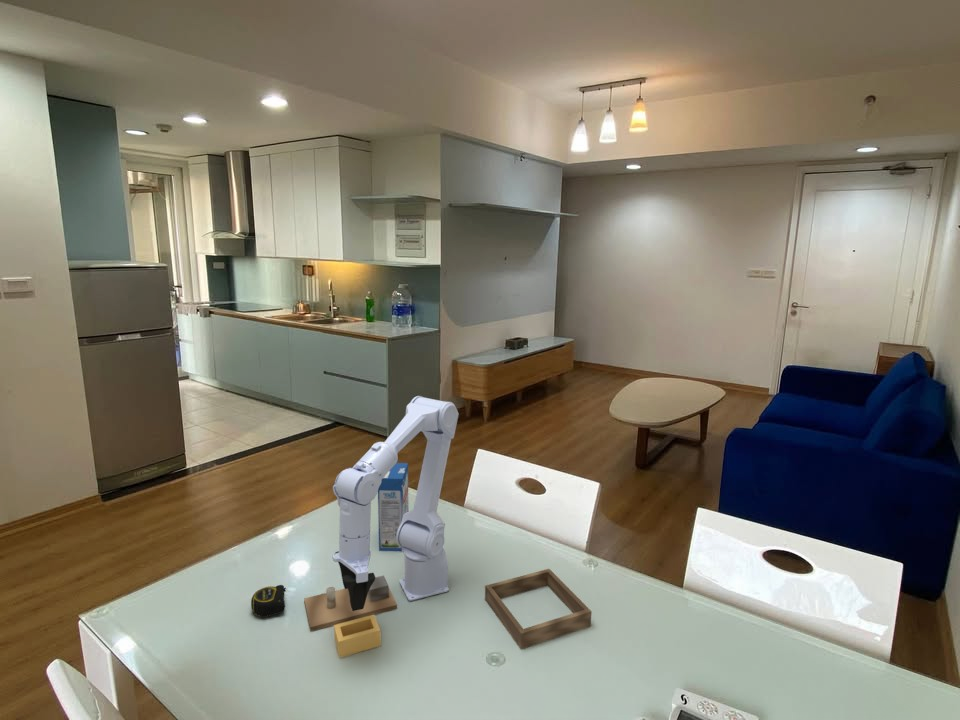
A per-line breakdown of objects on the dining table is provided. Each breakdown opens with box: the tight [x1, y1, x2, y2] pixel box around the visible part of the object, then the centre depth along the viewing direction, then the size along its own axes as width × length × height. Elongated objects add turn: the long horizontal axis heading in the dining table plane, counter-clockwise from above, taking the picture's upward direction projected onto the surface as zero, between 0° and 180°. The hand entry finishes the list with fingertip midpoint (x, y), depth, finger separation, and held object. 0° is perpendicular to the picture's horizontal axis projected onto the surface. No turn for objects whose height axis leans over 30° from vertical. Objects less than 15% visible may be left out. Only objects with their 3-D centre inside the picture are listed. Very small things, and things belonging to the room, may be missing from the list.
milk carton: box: [377, 462, 409, 552], centre depth 141 cm, size 10×6×20 cm, turn 179°
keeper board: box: [303, 575, 398, 632], centre depth 117 cm, size 18×10×5 cm, turn 115°
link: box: [333, 614, 382, 659], centre depth 106 cm, size 8×5×4 cm, turn 115°
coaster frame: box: [484, 568, 592, 650], centre depth 116 cm, size 16×16×4 cm
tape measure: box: [250, 584, 287, 617], centre depth 115 cm, size 7×7×4 cm
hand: (353, 597), depth 104 cm, fingers open, 7 cm apart
